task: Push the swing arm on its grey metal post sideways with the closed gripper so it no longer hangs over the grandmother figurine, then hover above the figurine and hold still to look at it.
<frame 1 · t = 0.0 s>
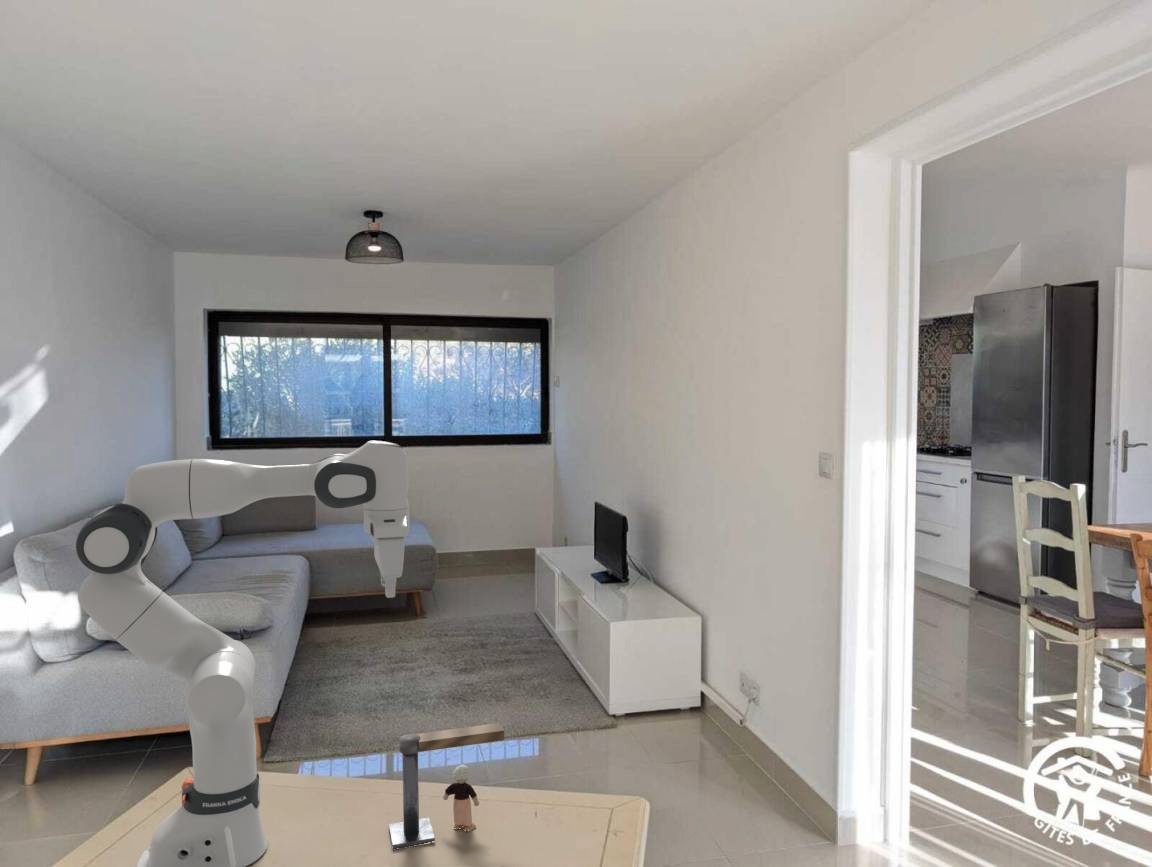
hand: (387, 591, 163), 48 cm above the table, tool pointing down, fingers open, 8 cm apart
grandmother figurine: (461, 828, 165), on the table
arm post: (411, 835, 162), on the table
swing arm: (451, 738, 164), point 19 cm above the table, hinge at 0.0°
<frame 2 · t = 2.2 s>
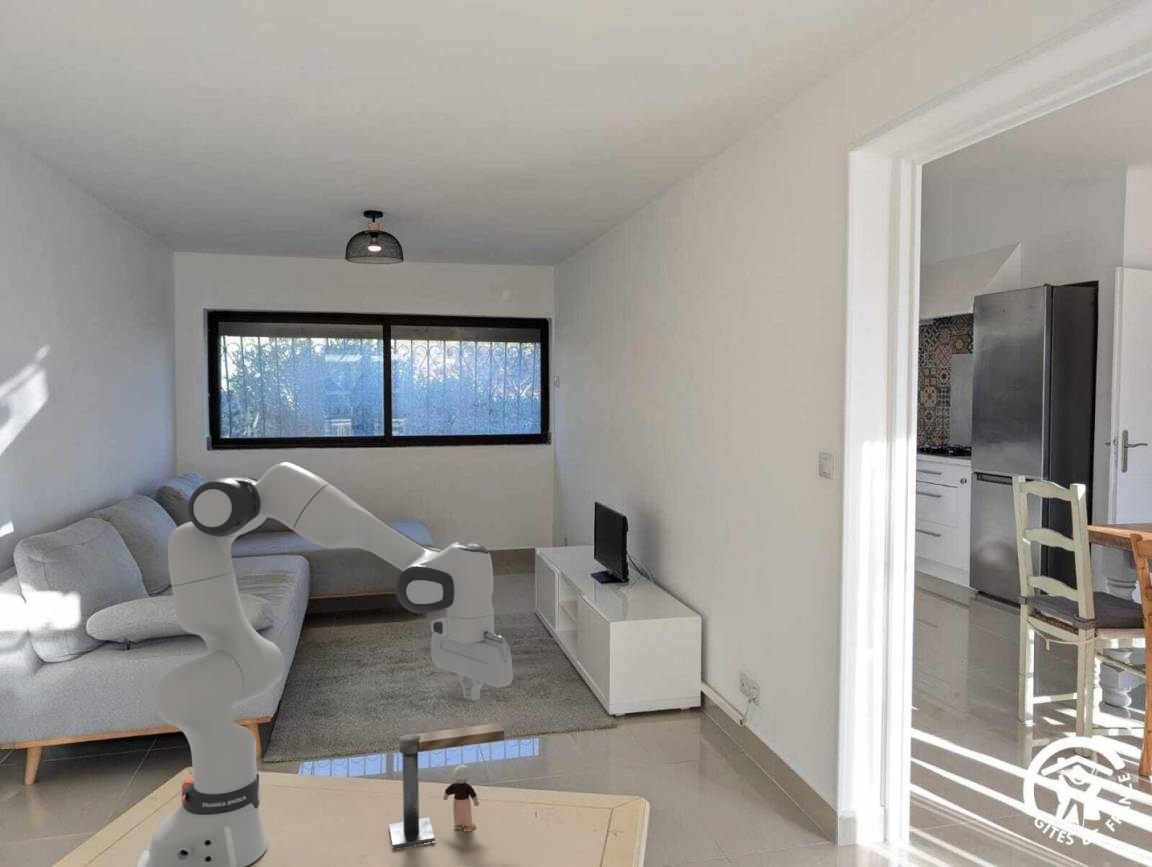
hand: (471, 698, 158), 29 cm above the table, tool pointing down, fingers closed
nothing on the table moved.
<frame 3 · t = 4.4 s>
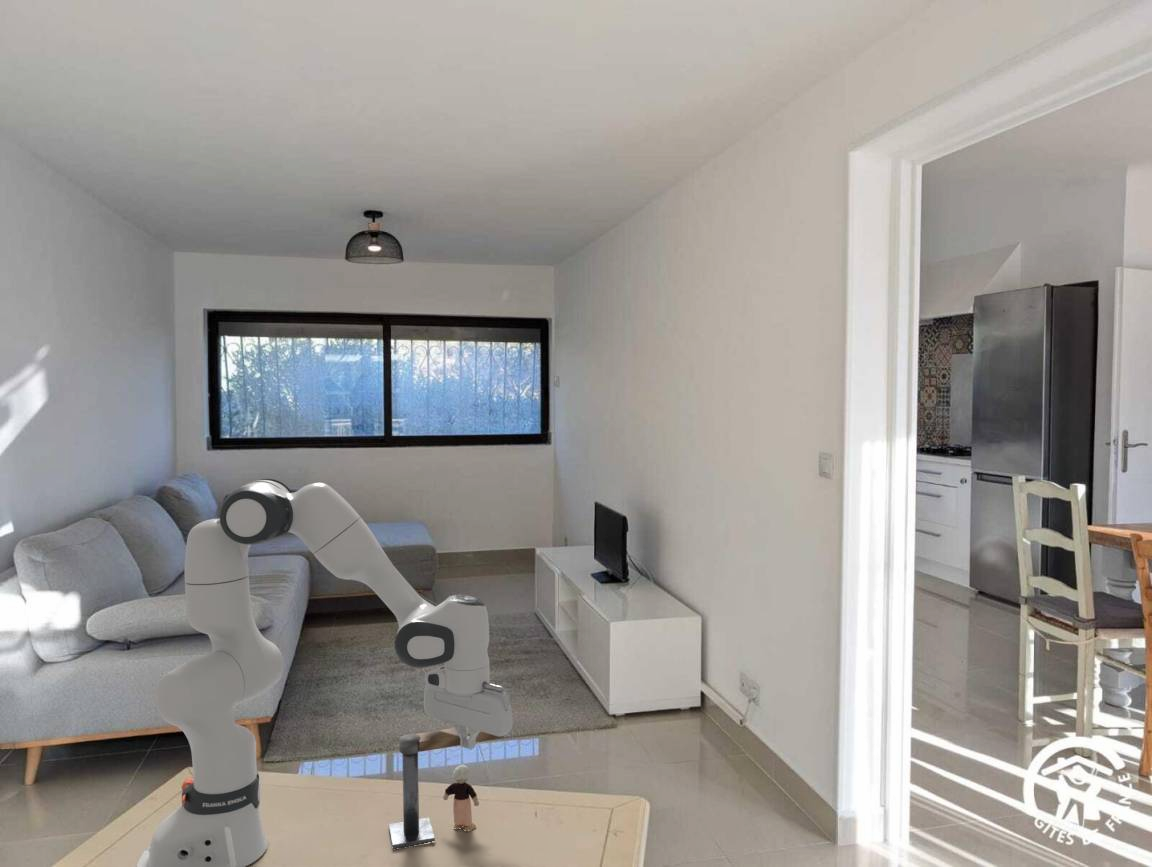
hand: (468, 746, 162), 18 cm above the table, tool pointing down, fingers closed
swing arm: (451, 737, 164), point 19 cm above the table, hinge at 3.5°, touching gripper
everything else where it was.
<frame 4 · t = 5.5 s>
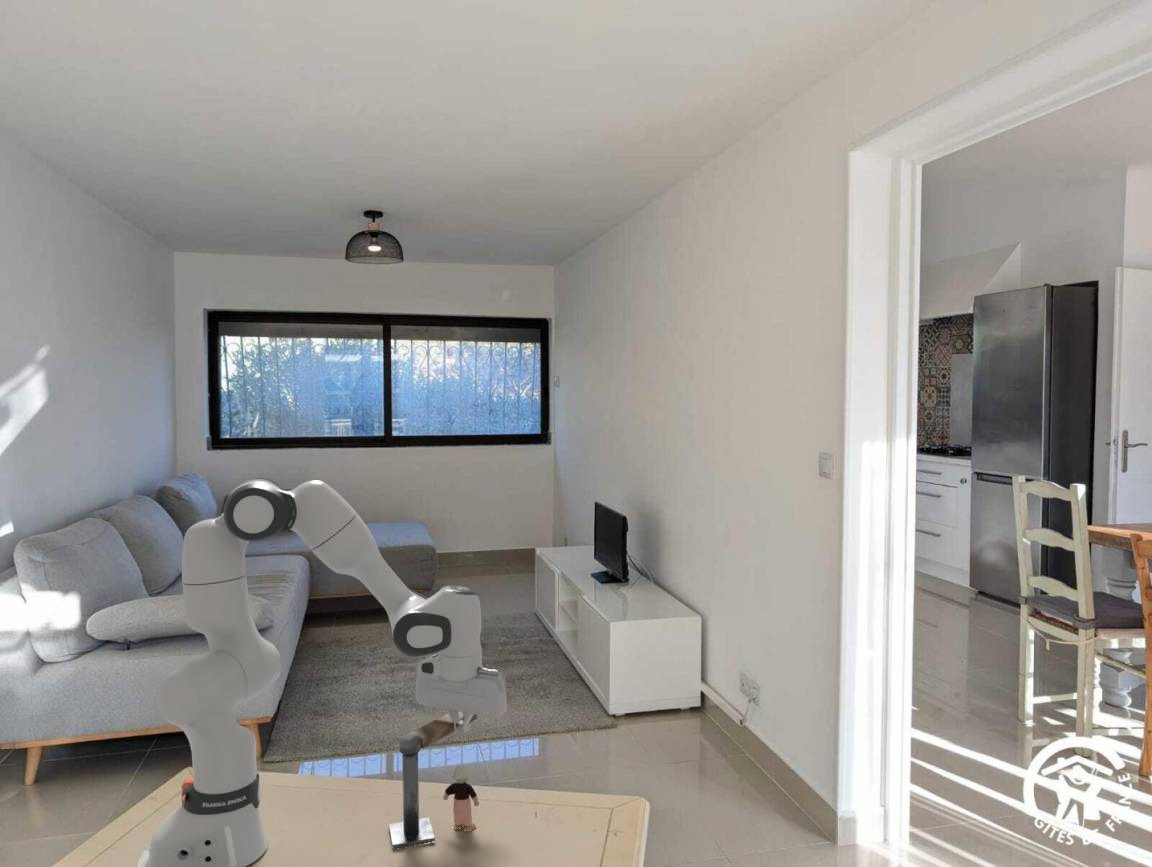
hand: (461, 730, 169), 18 cm above the table, tool pointing down, fingers closed
swing arm: (438, 729, 168), point 19 cm above the table, hinge at 40.3°, touching gripper
everything else where it was.
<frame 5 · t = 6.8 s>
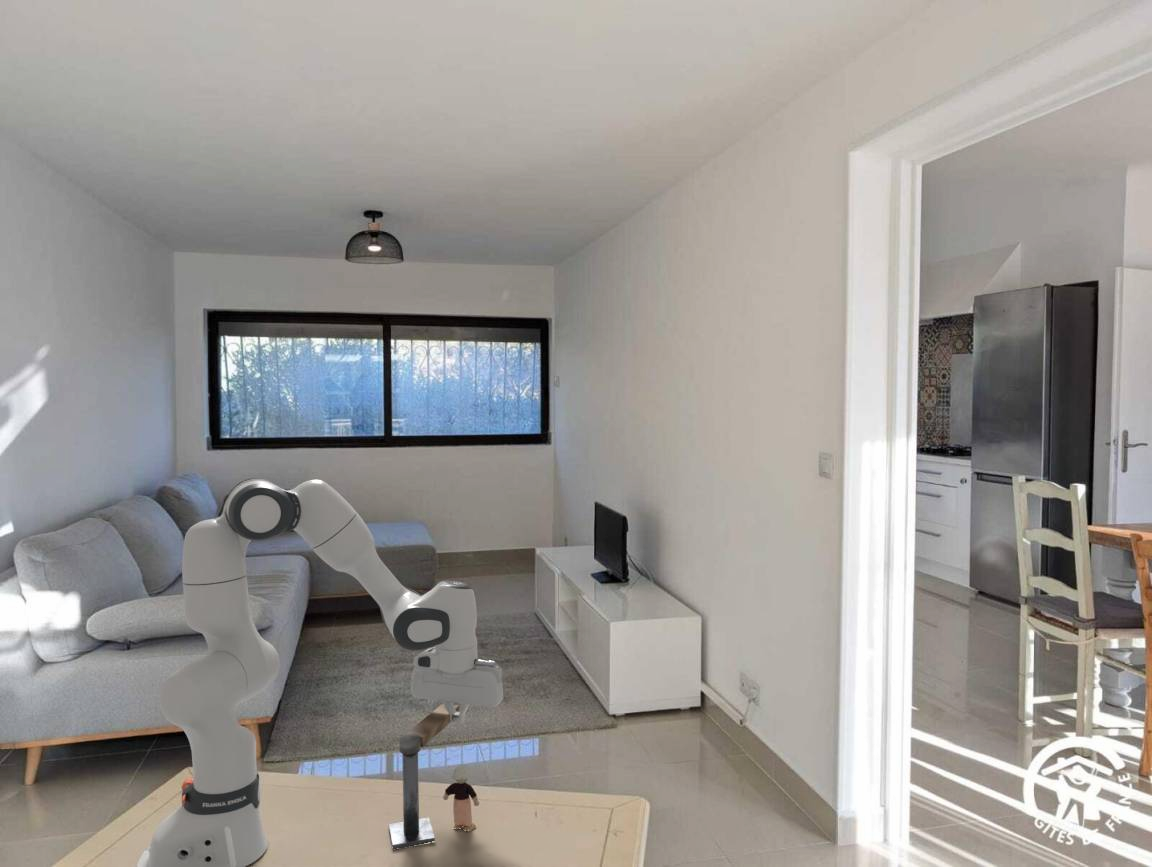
hand: (457, 721, 174), 18 cm above the table, tool pointing down, fingers closed
swing arm: (429, 727, 169), point 19 cm above the table, hinge at 55.0°, touching gripper
everything else where it was.
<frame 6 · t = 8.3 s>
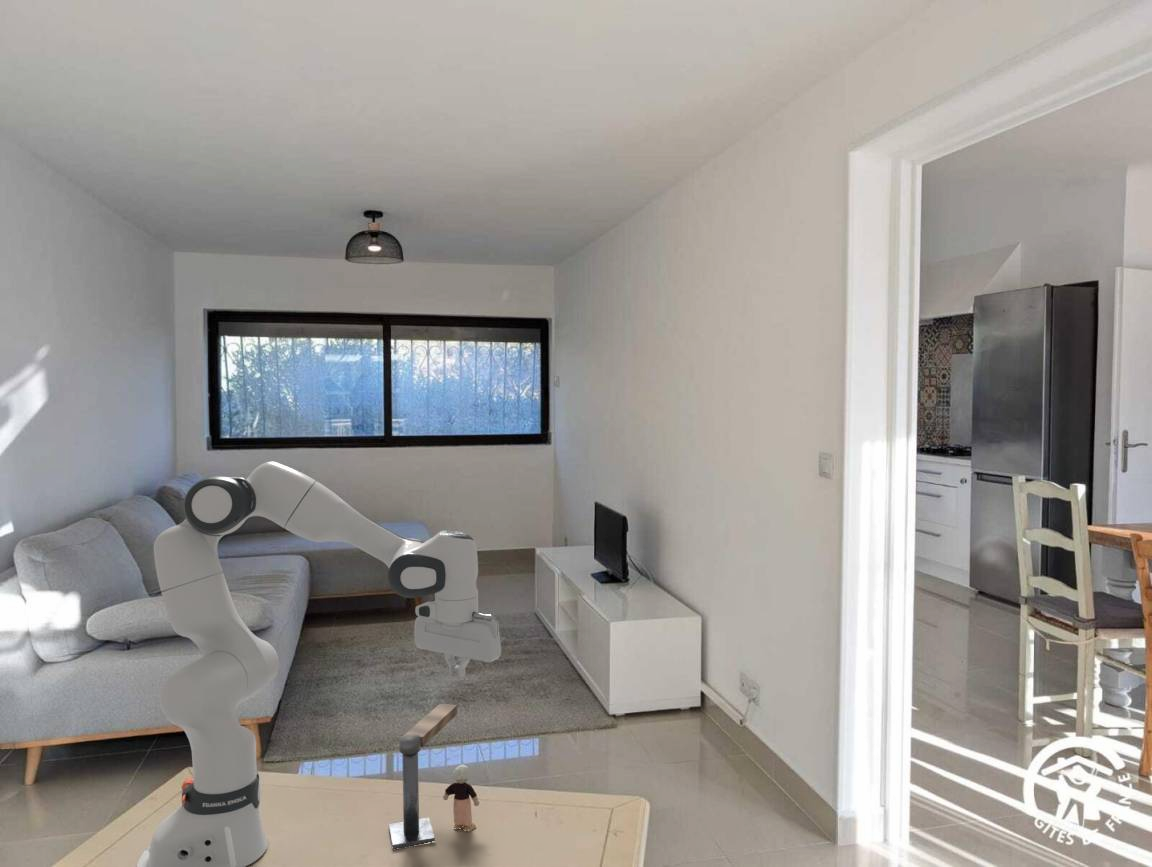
hand: (457, 675, 170), 29 cm above the table, tool pointing down, fingers closed
swing arm: (428, 727, 169), point 19 cm above the table, hinge at 56.7°
everything else where it was.
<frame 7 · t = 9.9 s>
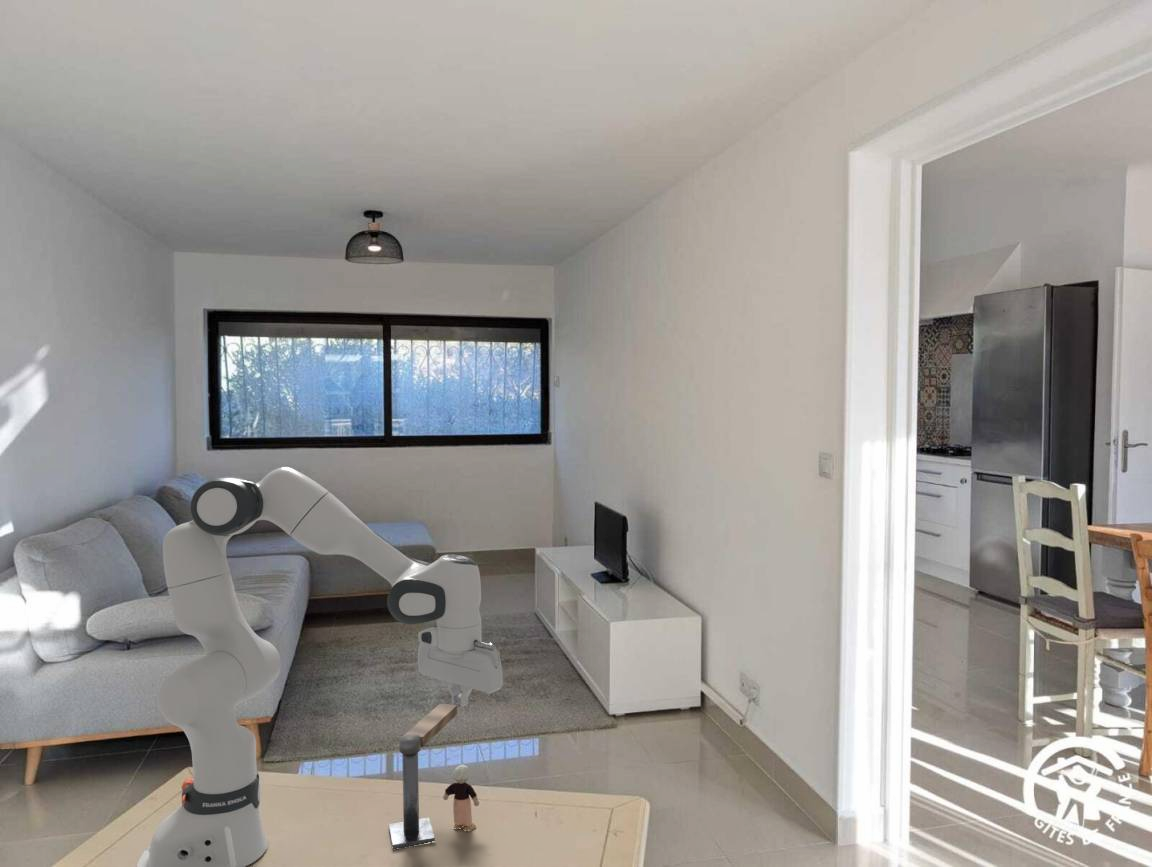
hand: (460, 704, 164), 25 cm above the table, tool pointing down, fingers closed
nothing on the table moved.
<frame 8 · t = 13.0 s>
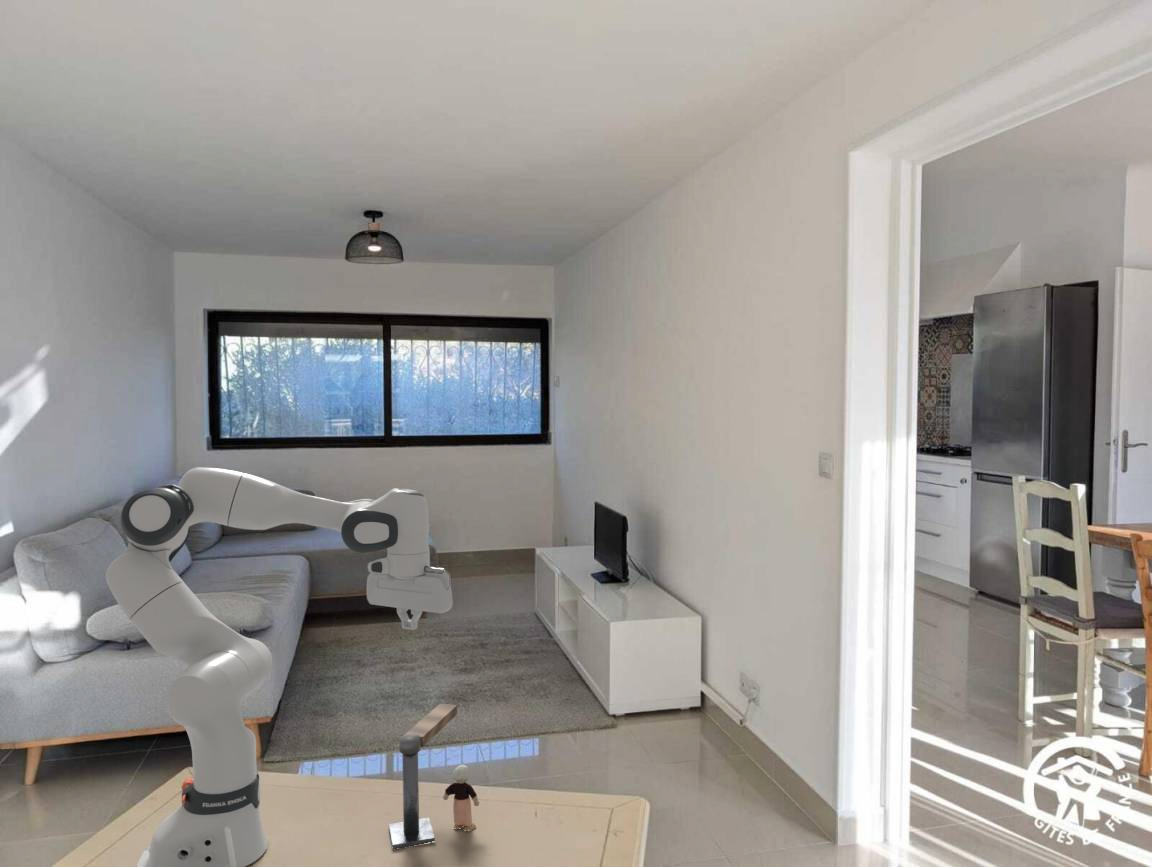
hand: (409, 628, 175), 37 cm above the table, tool pointing down, fingers closed
nothing on the table moved.
at the end: swing arm at +57° (first picture: +0°); grandmother figurine moved 0.2 cm from its start; grandmother figurine tilted 0° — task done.
